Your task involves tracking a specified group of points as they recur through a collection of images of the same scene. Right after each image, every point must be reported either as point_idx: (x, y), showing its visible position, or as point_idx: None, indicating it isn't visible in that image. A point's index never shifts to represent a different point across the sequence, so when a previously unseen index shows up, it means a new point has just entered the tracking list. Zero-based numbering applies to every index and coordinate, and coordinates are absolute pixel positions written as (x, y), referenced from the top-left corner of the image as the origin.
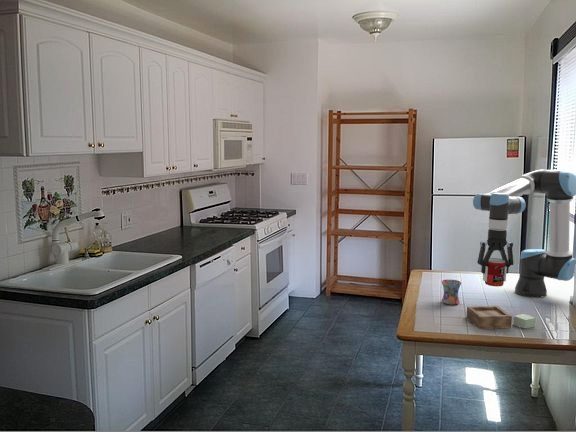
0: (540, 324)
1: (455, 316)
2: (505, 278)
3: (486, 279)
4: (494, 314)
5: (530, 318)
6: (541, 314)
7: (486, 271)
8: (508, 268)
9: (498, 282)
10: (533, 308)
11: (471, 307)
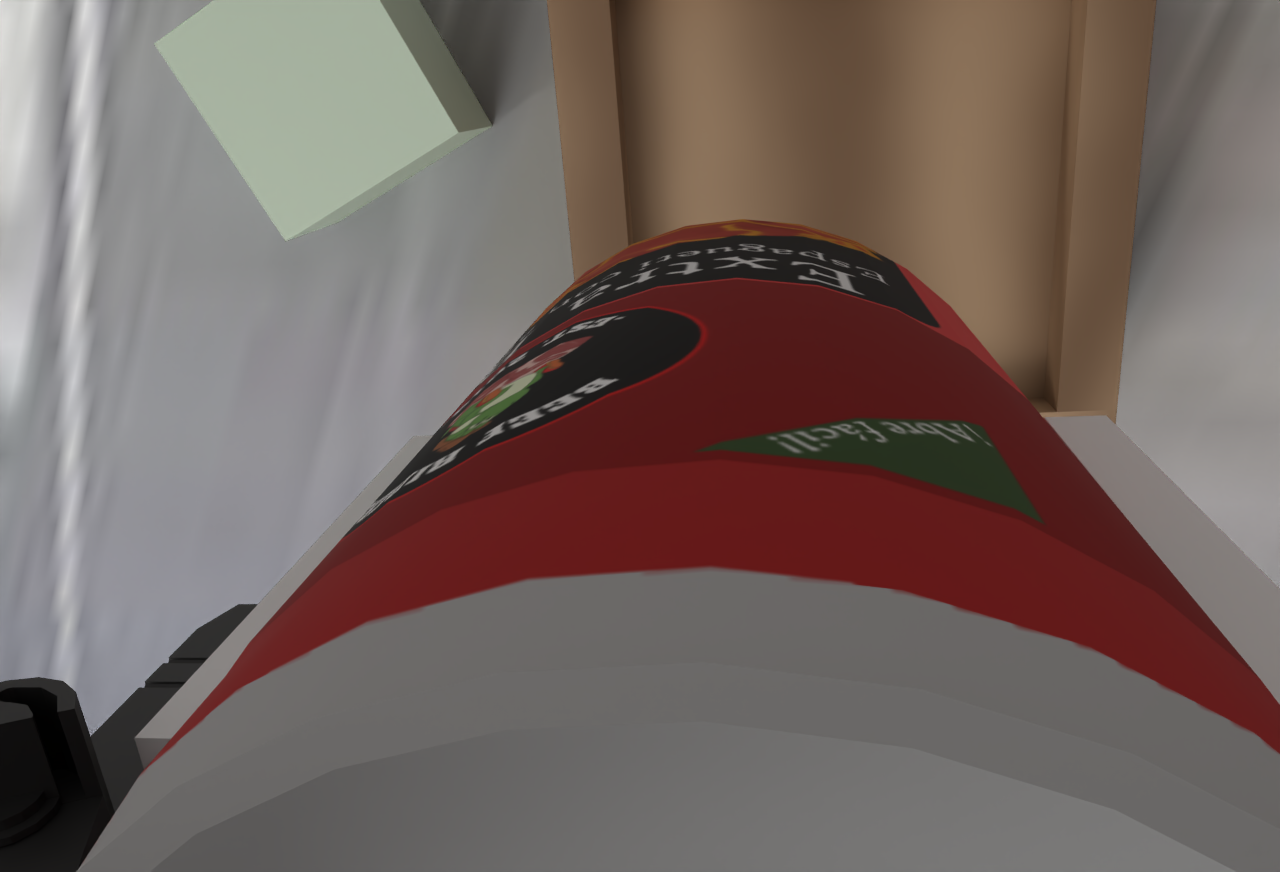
0: (131, 133)
1: (1192, 453)
2: (395, 474)
3: (1083, 442)
4: (758, 174)
5: (236, 4)
6: (40, 516)
7: (1244, 591)
8: (96, 733)
9: (719, 233)
10: (87, 716)
11: (1063, 408)
